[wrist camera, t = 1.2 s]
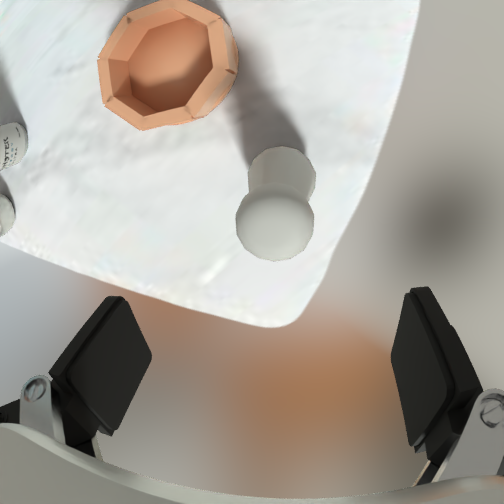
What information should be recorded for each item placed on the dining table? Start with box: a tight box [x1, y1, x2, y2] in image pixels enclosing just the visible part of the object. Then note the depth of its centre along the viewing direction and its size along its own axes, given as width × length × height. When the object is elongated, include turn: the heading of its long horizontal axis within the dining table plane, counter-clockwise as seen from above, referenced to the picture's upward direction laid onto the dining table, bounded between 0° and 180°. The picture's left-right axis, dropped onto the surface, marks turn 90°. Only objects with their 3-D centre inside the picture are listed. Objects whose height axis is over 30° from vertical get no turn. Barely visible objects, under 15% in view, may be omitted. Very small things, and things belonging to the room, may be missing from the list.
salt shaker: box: [236, 146, 316, 262], centre depth 20 cm, size 6×6×13 cm
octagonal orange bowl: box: [97, 0, 239, 131], centre depth 20 cm, size 12×12×4 cm
